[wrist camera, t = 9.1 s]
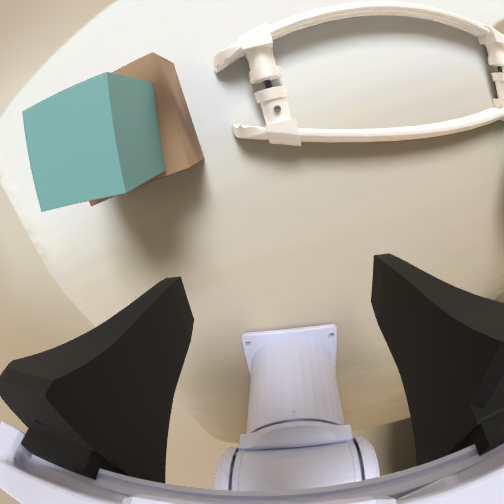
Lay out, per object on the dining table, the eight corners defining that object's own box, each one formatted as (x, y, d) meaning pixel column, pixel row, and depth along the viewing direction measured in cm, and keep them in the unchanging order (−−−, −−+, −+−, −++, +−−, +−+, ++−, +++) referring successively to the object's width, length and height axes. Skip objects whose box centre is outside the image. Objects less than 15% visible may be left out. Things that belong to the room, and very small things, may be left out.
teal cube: (165, 169, 15) (126, 193, 11) (92, 185, 16) (41, 211, 11) (152, 82, 13) (106, 71, 8) (78, 106, 13) (22, 111, 9)
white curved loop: (521, 128, 15) (245, 169, 19) (498, 24, 11) (205, 35, 15) (541, 132, 13) (241, 177, 17) (517, 20, 9) (195, 23, 13)
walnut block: (205, 157, 19) (190, 167, 15) (119, 190, 20) (91, 206, 16) (174, 63, 16) (152, 52, 12) (90, 105, 17) (57, 107, 13)
